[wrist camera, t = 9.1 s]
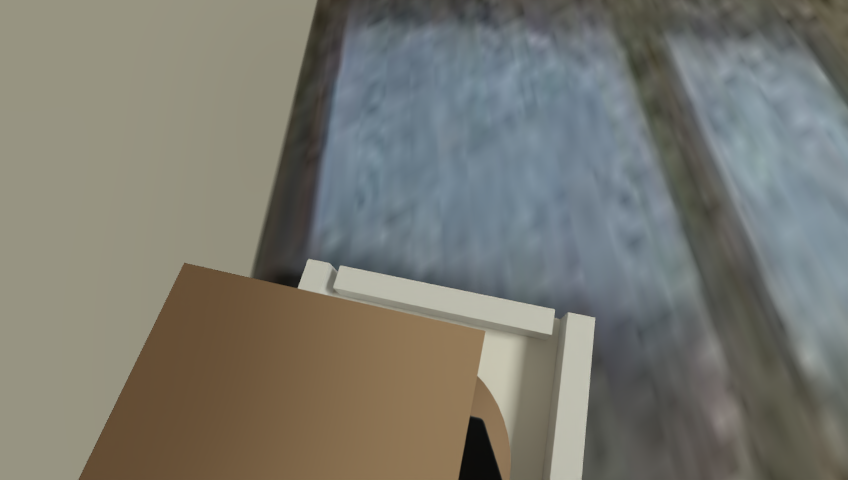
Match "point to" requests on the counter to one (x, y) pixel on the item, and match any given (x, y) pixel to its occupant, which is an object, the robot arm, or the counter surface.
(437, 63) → the counter surface
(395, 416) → the brown upright block
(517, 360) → the tray
